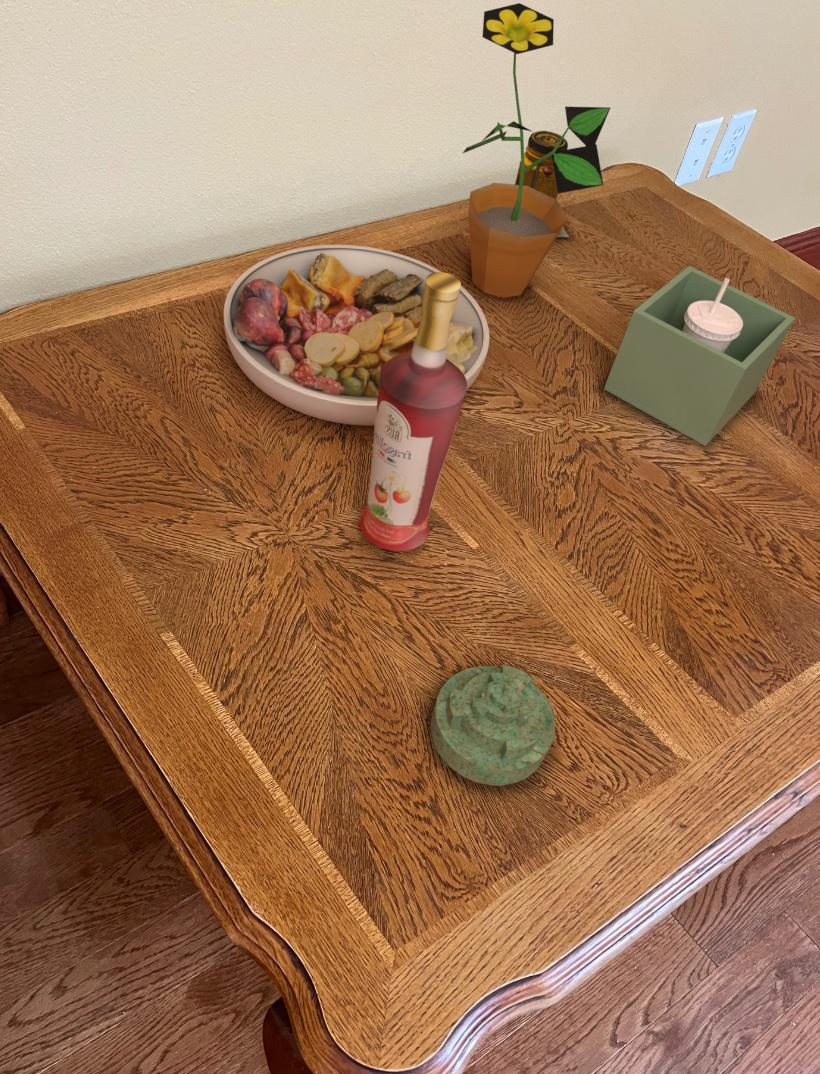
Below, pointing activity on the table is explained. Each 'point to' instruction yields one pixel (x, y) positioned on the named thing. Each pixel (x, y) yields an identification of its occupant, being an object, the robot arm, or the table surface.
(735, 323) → the smoothie
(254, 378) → the bowl
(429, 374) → the liquor
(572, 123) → the potted plant
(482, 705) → the decorative artifact
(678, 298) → the bin
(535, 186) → the condiment
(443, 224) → the table surface
